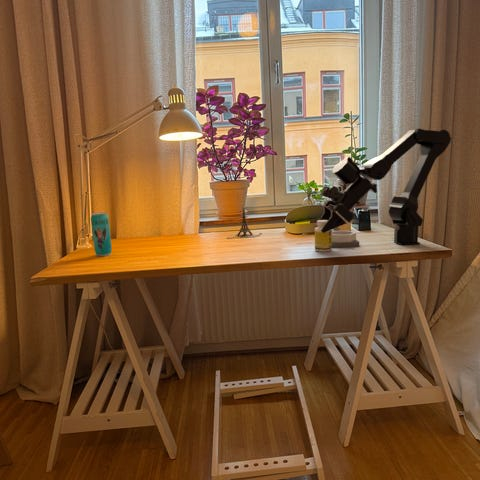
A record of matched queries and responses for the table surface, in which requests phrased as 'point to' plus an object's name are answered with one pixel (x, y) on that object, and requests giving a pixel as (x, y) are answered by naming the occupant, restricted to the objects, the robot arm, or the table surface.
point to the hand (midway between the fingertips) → (319, 229)
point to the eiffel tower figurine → (245, 229)
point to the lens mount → (344, 239)
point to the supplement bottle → (322, 237)
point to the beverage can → (101, 234)
